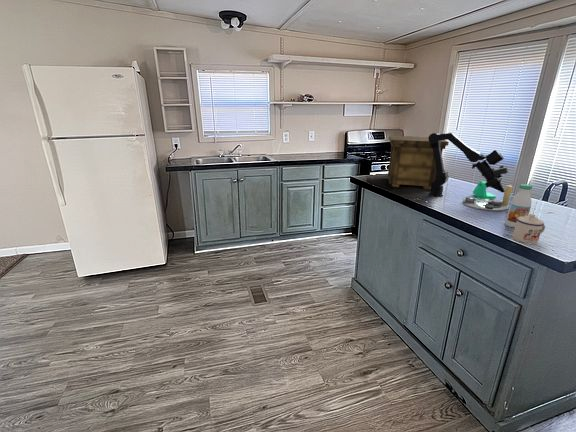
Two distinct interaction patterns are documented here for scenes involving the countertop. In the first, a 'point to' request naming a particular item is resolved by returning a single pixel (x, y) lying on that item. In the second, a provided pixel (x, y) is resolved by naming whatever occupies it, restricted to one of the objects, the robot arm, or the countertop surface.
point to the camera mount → (482, 191)
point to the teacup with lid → (528, 229)
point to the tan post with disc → (505, 197)
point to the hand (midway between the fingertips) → (503, 192)
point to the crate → (412, 161)
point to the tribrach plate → (482, 204)
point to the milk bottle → (519, 205)
